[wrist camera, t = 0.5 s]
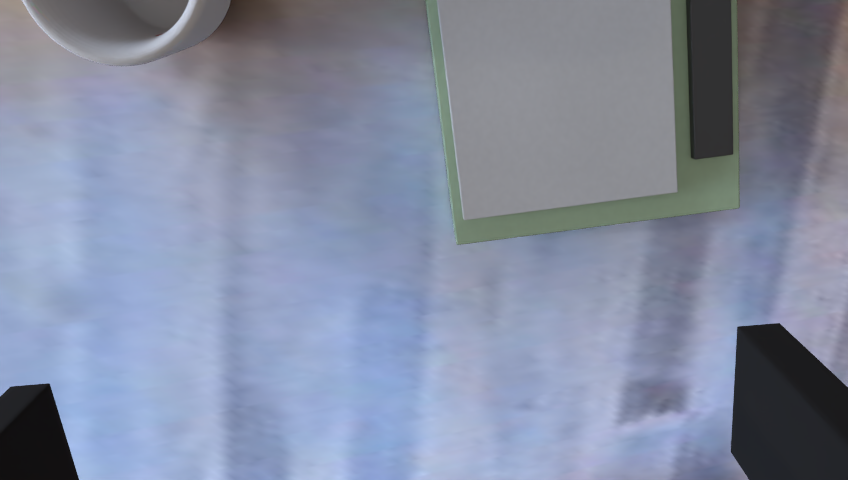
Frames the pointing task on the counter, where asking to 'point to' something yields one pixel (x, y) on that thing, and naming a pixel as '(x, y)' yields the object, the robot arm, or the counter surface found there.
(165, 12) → the cup
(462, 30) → the scale
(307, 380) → the counter surface
